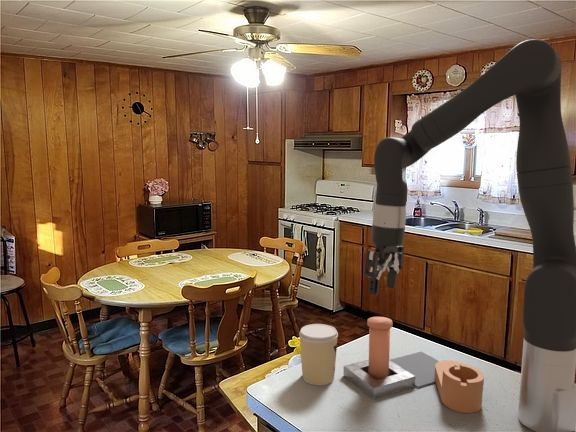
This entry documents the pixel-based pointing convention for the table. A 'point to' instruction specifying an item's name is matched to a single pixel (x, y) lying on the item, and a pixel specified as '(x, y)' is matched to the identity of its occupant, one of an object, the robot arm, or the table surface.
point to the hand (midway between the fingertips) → (382, 290)
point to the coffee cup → (318, 353)
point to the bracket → (459, 386)
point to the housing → (383, 386)
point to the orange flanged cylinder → (379, 346)
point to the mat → (418, 367)
